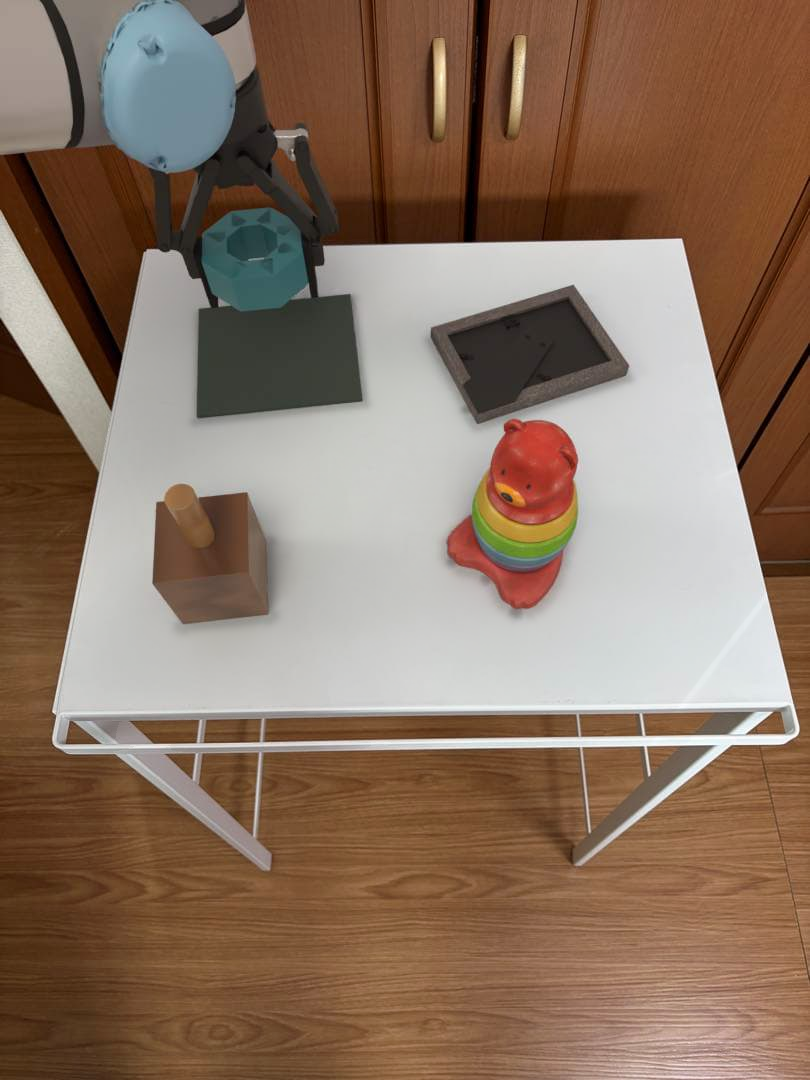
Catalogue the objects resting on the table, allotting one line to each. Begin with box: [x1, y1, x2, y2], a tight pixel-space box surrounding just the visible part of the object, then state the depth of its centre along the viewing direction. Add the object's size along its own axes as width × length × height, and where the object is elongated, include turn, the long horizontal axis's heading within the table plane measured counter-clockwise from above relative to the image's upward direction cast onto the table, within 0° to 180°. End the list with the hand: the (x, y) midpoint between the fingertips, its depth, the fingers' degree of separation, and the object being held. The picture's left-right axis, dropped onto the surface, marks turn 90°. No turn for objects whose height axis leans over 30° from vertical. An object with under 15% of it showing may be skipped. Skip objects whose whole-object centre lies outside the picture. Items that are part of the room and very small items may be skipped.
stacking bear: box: [446, 418, 579, 610], centre depth 65 cm, size 11×10×18 cm
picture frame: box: [430, 284, 630, 425], centre depth 83 cm, size 13×2×18 cm
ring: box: [201, 207, 309, 312], centre depth 73 cm, size 10×10×4 cm
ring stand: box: [151, 483, 269, 625], centre depth 65 cm, size 8×8×16 cm
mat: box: [196, 293, 363, 419], centre depth 85 cm, size 18×16×1 cm
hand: (264, 293), depth 77 cm, fingers closed on ring, 10 cm apart
